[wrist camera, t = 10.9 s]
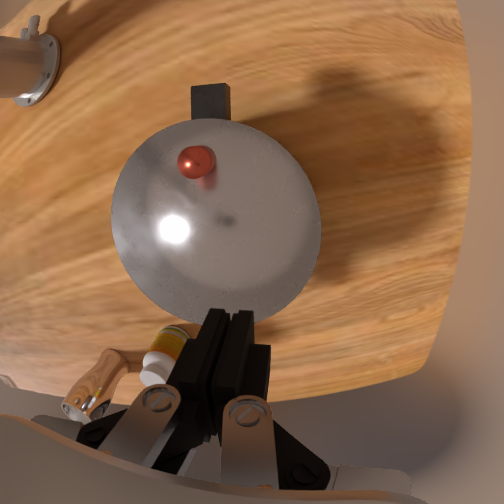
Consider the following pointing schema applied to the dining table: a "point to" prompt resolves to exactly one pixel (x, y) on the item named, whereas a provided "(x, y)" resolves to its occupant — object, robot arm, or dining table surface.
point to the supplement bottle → (163, 355)
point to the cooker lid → (216, 220)
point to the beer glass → (95, 388)
